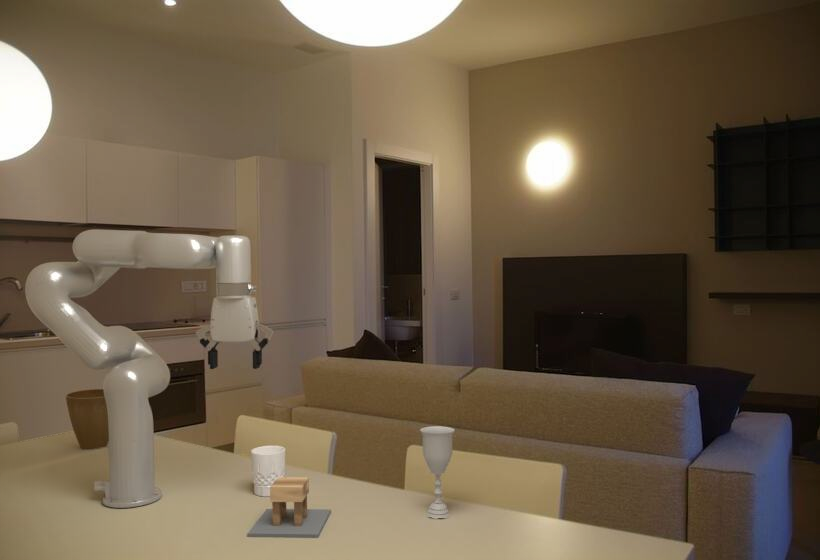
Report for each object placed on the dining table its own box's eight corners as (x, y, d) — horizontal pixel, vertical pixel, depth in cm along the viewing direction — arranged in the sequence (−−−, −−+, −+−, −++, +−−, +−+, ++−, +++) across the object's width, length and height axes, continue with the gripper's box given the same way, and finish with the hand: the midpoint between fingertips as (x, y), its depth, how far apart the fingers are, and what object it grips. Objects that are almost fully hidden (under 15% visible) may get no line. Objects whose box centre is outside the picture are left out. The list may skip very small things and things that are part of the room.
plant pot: (55, 451, 203) (54, 396, 203) (87, 439, 218) (86, 388, 217) (102, 453, 200) (101, 397, 200) (131, 440, 215) (130, 388, 215)
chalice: (459, 511, 149) (458, 427, 149) (450, 522, 143) (449, 434, 143) (426, 508, 152) (425, 425, 151) (416, 518, 145) (415, 432, 145)
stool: (278, 515, 147) (278, 477, 147) (309, 515, 146) (308, 477, 146) (270, 526, 140) (269, 486, 140) (302, 526, 140) (302, 487, 140)
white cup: (278, 498, 159) (277, 454, 159) (246, 496, 161) (245, 453, 161) (291, 487, 167) (290, 446, 167) (260, 486, 169) (259, 444, 168)
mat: (247, 536, 137) (247, 533, 137) (266, 511, 151) (266, 508, 151) (318, 537, 136) (318, 534, 136) (331, 512, 150) (331, 509, 150)
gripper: (276, 290, 159) (277, 365, 159) (201, 291, 160) (203, 365, 160) (267, 291, 151) (268, 370, 151) (189, 292, 152) (190, 370, 153)
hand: (235, 368), depth 156 cm, fingers open, 9 cm apart
